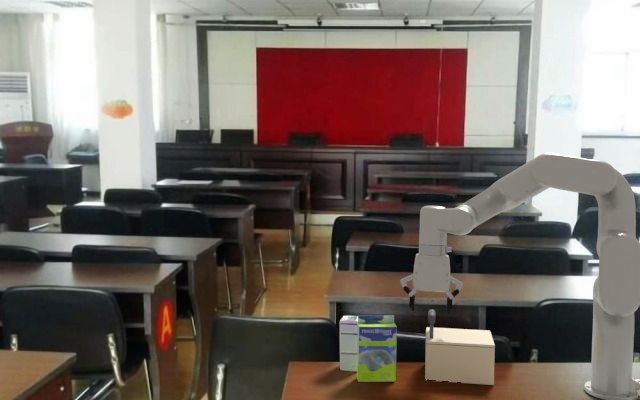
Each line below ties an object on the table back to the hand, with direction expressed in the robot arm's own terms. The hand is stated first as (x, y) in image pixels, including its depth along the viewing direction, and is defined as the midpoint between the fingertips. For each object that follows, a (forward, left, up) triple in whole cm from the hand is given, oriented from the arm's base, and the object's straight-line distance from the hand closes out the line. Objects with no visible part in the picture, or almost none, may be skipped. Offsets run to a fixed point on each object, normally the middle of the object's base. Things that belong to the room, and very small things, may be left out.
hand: (430, 311), depth 172 cm
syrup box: (+22, +1, -18) cm, 28 cm away
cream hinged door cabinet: (-8, 0, -17) cm, 19 cm away
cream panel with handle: (-8, 0, -7) cm, 11 cm away
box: (+14, +9, -18) cm, 24 cm away
